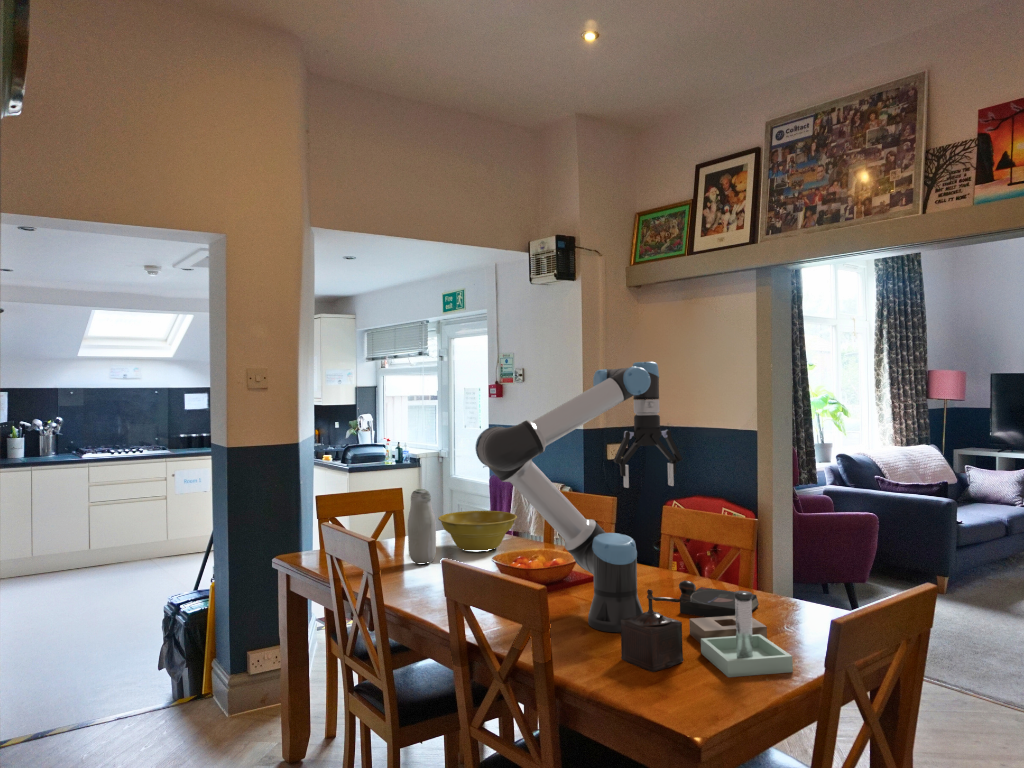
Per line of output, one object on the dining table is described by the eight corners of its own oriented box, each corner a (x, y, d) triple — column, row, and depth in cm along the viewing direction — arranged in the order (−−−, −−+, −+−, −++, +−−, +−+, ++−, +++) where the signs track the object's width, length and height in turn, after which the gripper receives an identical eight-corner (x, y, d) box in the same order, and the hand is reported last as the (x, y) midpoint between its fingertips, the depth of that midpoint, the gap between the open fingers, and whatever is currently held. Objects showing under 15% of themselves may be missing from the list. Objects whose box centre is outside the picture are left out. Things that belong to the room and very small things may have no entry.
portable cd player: (740, 624, 195) (740, 609, 195) (680, 614, 205) (679, 600, 205) (758, 609, 209) (758, 595, 209) (701, 600, 218) (701, 587, 219)
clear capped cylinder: (740, 662, 164) (738, 595, 165) (732, 656, 168) (731, 591, 169) (757, 661, 165) (755, 595, 165) (749, 655, 169) (747, 590, 169)
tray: (728, 677, 158) (727, 661, 158) (701, 653, 173) (700, 638, 173) (792, 672, 160) (792, 656, 160) (760, 648, 175) (760, 634, 175)
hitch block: (705, 647, 177) (704, 631, 177) (689, 634, 187) (689, 618, 187) (767, 642, 179) (766, 626, 179) (748, 630, 189) (748, 614, 189)
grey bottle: (441, 562, 275) (439, 488, 275) (424, 568, 266) (422, 491, 266) (421, 559, 280) (419, 487, 280) (403, 565, 271) (401, 490, 272)
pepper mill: (654, 673, 161) (652, 592, 162) (620, 659, 170) (618, 582, 171) (701, 658, 170) (699, 581, 170) (666, 645, 179) (664, 572, 179)
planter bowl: (532, 545, 302) (531, 513, 302) (489, 561, 275) (488, 525, 275) (469, 538, 319) (468, 508, 319) (422, 553, 292) (421, 519, 292)
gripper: (609, 415, 209) (610, 489, 209) (692, 413, 212) (694, 486, 212) (602, 415, 216) (604, 486, 216) (682, 412, 220) (684, 483, 219)
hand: (648, 486), depth 214 cm, fingers open, 13 cm apart
